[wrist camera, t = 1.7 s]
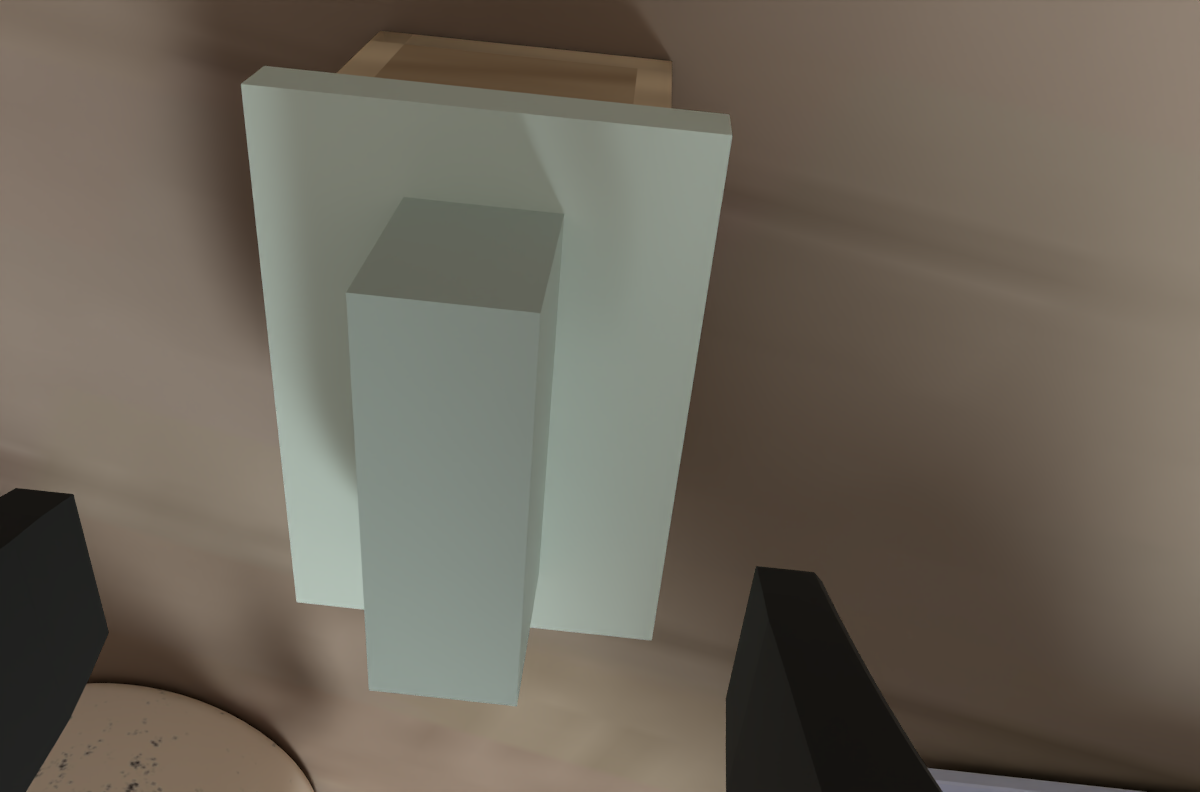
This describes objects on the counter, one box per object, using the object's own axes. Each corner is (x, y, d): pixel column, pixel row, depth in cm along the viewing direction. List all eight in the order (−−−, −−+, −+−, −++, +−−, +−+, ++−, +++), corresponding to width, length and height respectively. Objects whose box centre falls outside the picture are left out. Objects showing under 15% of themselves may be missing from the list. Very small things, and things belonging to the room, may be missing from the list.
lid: (263, 65, 13) (143, 160, 10) (729, 114, 13) (745, 224, 10) (311, 568, 17) (238, 733, 14) (652, 605, 17) (648, 777, 14)
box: (379, 30, 15) (321, 88, 13) (672, 60, 15) (671, 124, 13) (394, 458, 20) (351, 564, 17) (620, 482, 20) (612, 592, 17)
